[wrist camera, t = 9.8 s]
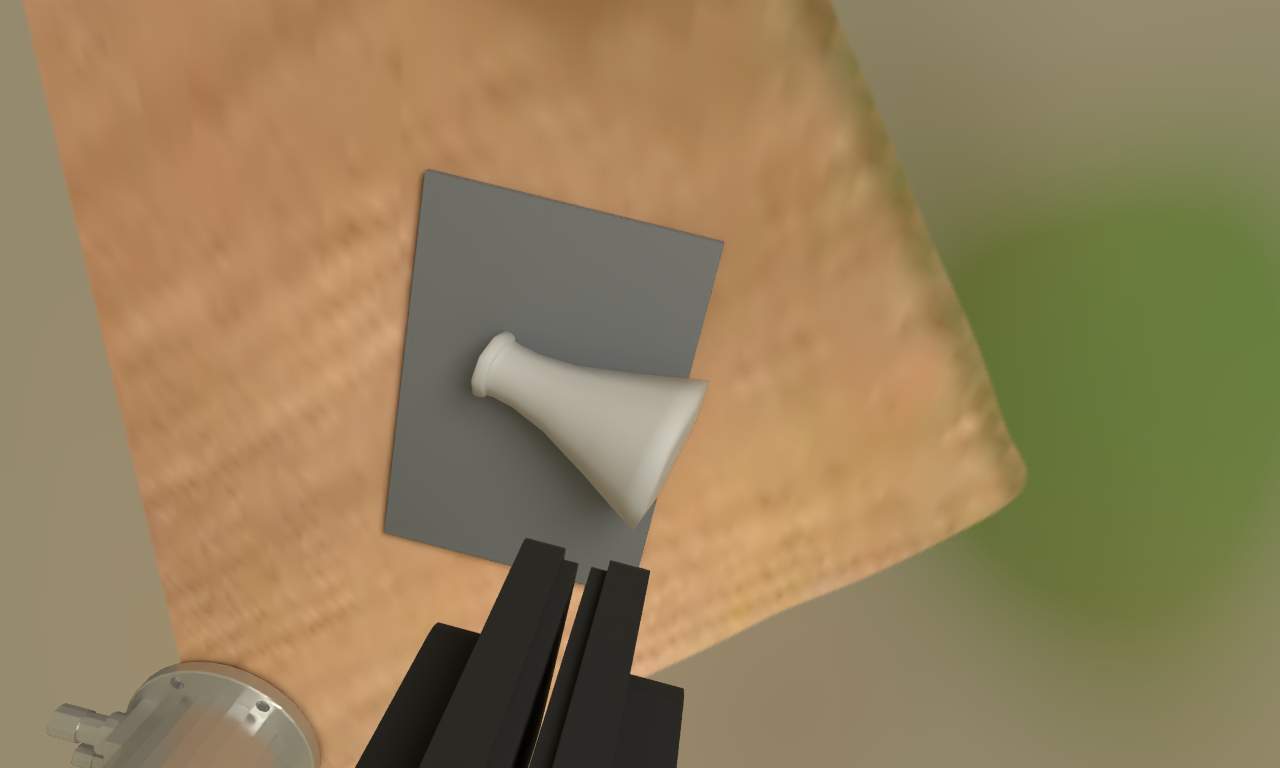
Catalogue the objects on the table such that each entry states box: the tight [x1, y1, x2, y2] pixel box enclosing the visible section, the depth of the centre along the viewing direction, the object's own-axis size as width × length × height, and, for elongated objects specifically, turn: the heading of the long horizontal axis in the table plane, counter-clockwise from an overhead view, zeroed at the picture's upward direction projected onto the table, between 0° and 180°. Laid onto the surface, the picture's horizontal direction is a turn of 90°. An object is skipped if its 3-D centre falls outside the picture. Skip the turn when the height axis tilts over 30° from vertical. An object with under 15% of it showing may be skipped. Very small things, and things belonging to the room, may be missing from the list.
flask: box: [471, 331, 709, 530], centre depth 39 cm, size 7×7×10 cm
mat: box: [384, 169, 724, 585], centre depth 42 cm, size 14×20×1 cm
